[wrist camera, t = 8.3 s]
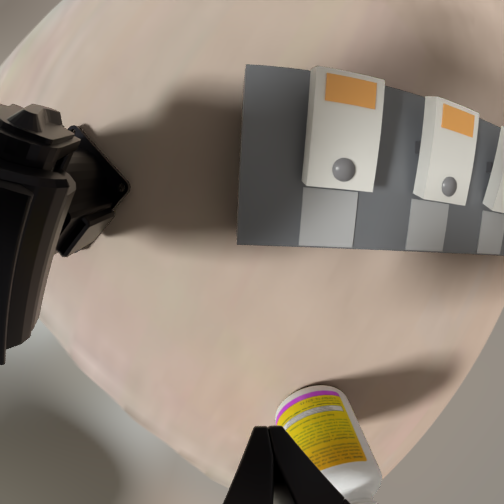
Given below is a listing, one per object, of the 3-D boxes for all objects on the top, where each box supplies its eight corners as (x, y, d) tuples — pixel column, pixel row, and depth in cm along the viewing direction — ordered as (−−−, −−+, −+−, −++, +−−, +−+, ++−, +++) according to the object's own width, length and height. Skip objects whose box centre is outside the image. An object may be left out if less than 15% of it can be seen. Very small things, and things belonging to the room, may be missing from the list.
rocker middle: (454, 200, 16) (466, 206, 15) (412, 193, 16) (424, 199, 15) (467, 111, 14) (480, 113, 13) (425, 96, 13) (438, 96, 12)
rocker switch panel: (236, 233, 19) (236, 246, 16) (244, 79, 17) (246, 61, 13) (497, 247, 21) (522, 257, 18) (507, 142, 19) (533, 143, 15)
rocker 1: (363, 186, 16) (373, 193, 15) (301, 180, 15) (307, 186, 14) (375, 81, 13) (386, 79, 12) (310, 69, 13) (317, 65, 12)
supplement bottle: (258, 410, 24) (274, 540, 11) (321, 368, 23) (375, 500, 10) (301, 440, 25) (328, 549, 13) (358, 405, 24) (409, 512, 12)
